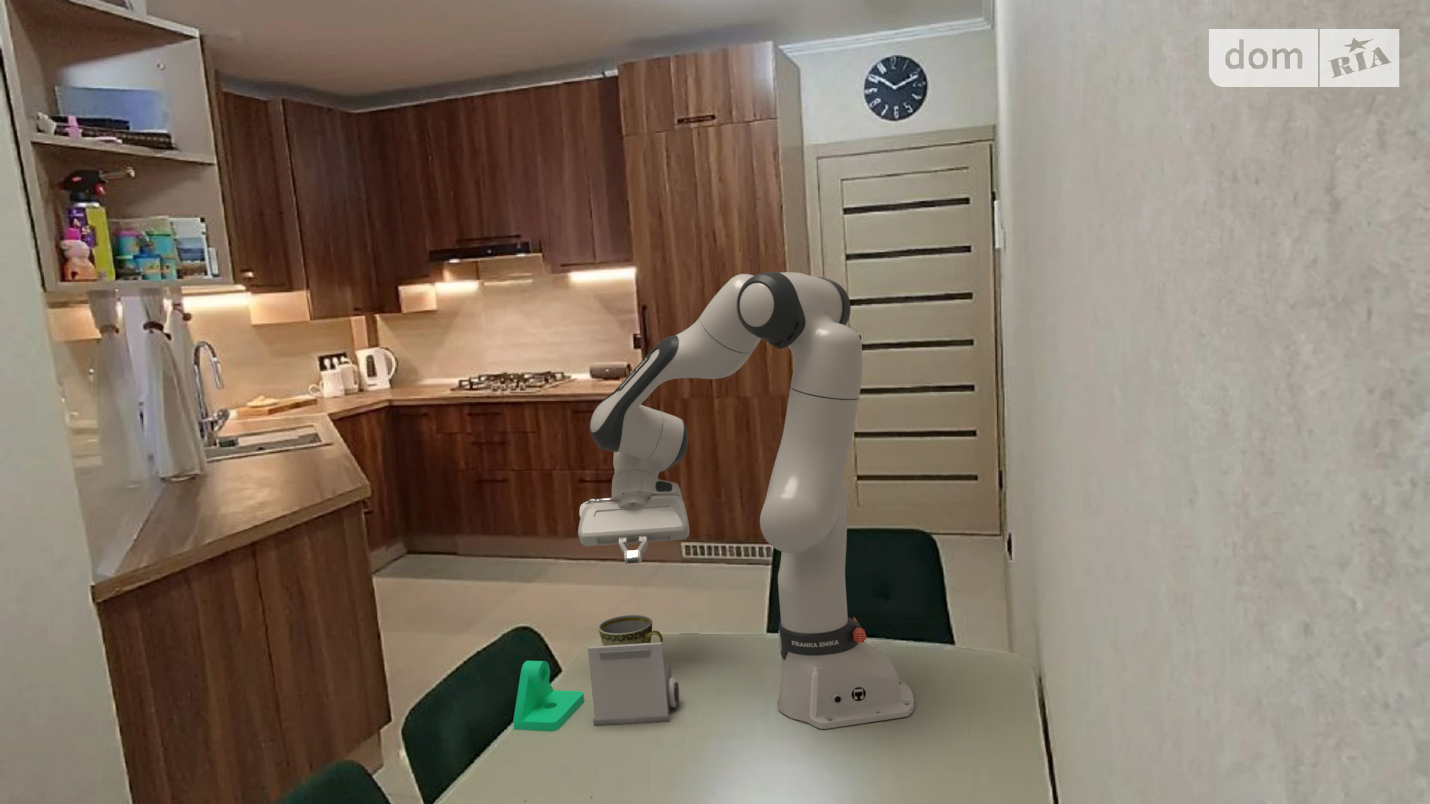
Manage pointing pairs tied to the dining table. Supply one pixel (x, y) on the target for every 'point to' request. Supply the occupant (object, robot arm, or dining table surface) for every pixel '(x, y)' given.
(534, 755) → the dining table surface
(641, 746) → the dining table surface
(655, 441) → the robot arm
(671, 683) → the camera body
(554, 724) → the camera mount
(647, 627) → the ceramic cup
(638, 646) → the side door
